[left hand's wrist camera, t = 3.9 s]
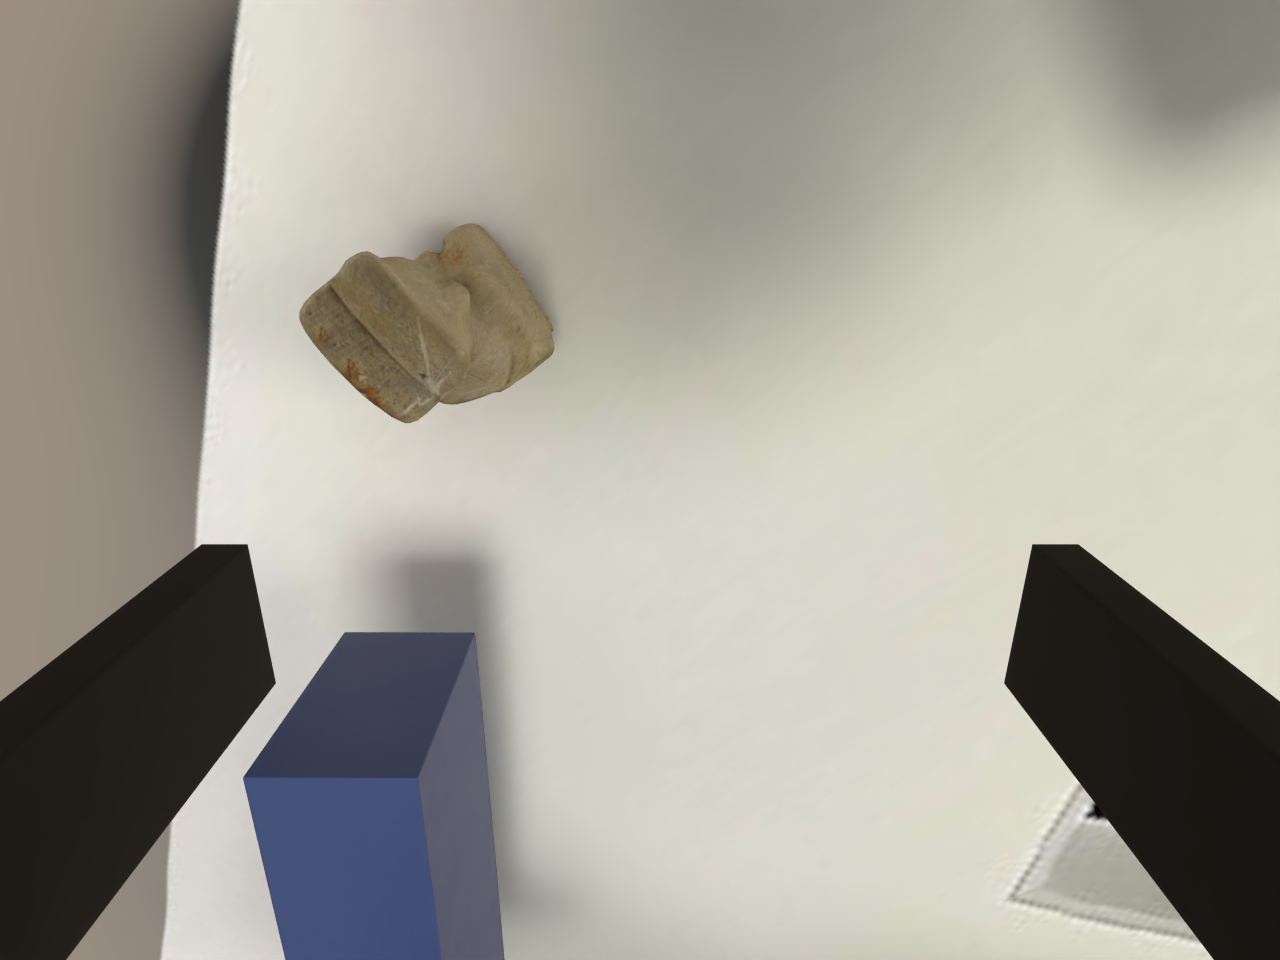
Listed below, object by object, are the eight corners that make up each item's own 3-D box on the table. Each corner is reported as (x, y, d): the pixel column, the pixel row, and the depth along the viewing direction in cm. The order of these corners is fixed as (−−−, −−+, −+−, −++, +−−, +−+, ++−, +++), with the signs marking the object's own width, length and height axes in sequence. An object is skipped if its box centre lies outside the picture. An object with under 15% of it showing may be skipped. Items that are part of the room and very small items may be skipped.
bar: (344, 631, 34) (242, 777, 25) (475, 632, 34) (417, 778, 25) (409, 1037, 43) (351, 1244, 34) (511, 1038, 43) (478, 1245, 34)
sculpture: (492, 202, 35) (394, 203, 21) (582, 329, 37) (547, 404, 23) (399, 275, 36) (247, 320, 22) (491, 393, 38) (405, 503, 24)
